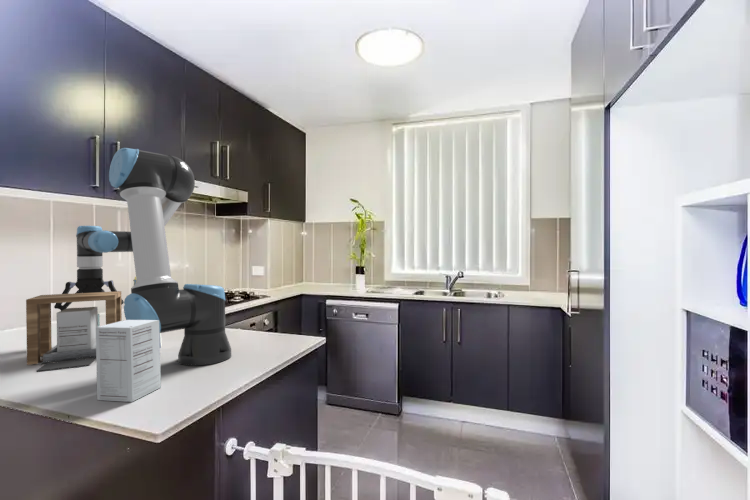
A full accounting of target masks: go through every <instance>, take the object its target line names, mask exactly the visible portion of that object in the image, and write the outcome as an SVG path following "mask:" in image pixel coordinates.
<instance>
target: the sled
mask: <svg viewBox="0 0 750 500" xmlns="http://www.w3.org/2000/svg"><path fill="white" fill-rule="evenodd" d="M100 317H101V315H100V313H98V327H99V326H101V325H100V323H101V321H100ZM86 358H96V348H95V349H85V350H75V351H66V352H57V344H56V345H54V346H52V349H50V350H49V351H47V352H46V353H45V354H43V356H42V359H43V363H44V364H46V363H50V362H59V361H68V360H77V359H86ZM43 363H42V364H43Z"/></svg>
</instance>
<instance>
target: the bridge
mask: <svg viewBox="0 0 750 500" xmlns="http://www.w3.org/2000/svg"><path fill="white" fill-rule="evenodd" d="M121 298H122V291H121V290H117V291H114V292H111V291H105V292H94V293H76V292H75V293H74V292H73V293H68V294H62V293H59V294H58V293H56V294H41V295H37V296H33V297H30V298H28V299H27V298H26V300H25V309H26V310H25V313H26V314H25V316H26V317H25V318H26V319H25V323H26V324H25V326H26V365H27V366H29V365H31V366H32V365H39V364H38V362H40V361H41V360H42V359H41V358H42V357H43V354H45V353H46V352H47V351H49V350H50V349H52V348H53V346H52V304H56V303H62V304H63V303H64V304H65V303H66V302H72V303H81V302H95V301H96V302H97V301H99V302H100V301H105V325H107V324H111V323H115V322H119V321H123V319H122V318H123V317H122V314H123V313H122V305H121Z"/></svg>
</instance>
